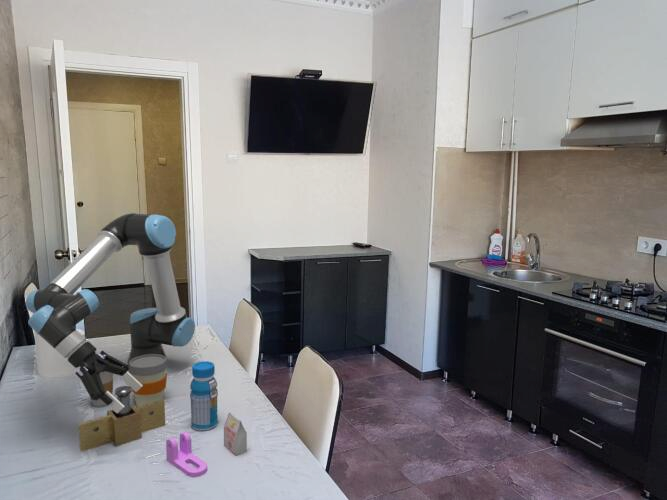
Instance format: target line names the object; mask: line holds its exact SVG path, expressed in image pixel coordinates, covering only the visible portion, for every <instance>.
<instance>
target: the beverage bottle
mask: <svg viewBox="0 0 667 500" xmlns="http://www.w3.org/2000/svg"><path fill="white" fill-rule="evenodd" d="M215 370H216V369H215V364H214V362H212V361H206V360H205V361H204V360H203V361H199V362H196V363H194V364H192V368H191V373H192V374H191V375H192V380H191V383H190V385H189V387H190V388H189V389H190V393H189V398H190V413H191V416H190V417H191V418H190V419H191V420H190V421H191V422H190V424H191V427H192V429H193V430H196V431H208V430H212V429H214V428H215V427H216V426H217V425H218V422H219V419H218V394H219V393H218V389H217V387H218V382H217V379H216V378H215V376H214V375H215V374H216V373H215Z"/></svg>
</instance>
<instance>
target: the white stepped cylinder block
mask: <svg viewBox="0 0 667 500" xmlns="http://www.w3.org/2000/svg"><path fill="white" fill-rule="evenodd" d="M33 314H34V313H33V312H32V315H33ZM75 329H76V330H77V331H78V332H79V333H80V334H81V335H83V336H84V337H85V338H86V333H85V330H83V329H80V328H75ZM33 333H34V345H35V357H36V372H37V375H38V376H40V377H42V378H49V377H55V378H62V377H69V376H73V375H76V372H77V371H78V370H79V369H80V366H79V367H78V368H75V367H74V366H73V365H72V364H71V363H69V362H68V357H67V358H64V357H63V356H62V355H61V354H60V353H59V352H58V351H57V350H56V349H54V348H53V347H52V346H51V345H50V344H49V343H48V342H47V341H45V340H44V339H43V338H42V337H41V336H40V335H39V334H37V333H36V332H35V331H34V330H33Z"/></svg>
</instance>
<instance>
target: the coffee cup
mask: <svg viewBox="0 0 667 500" xmlns="http://www.w3.org/2000/svg"><path fill="white" fill-rule="evenodd" d="M99 375H100V378H101V381H102V384H103V387H104V390H105V393H106V392H107V391H109V392H110V393H111V394H112V395H113V392H114V390H113V389H114V374H113V373H110V372H107V371H101V372H100V374H99ZM94 394H95V393H94ZM113 396H114V395H113ZM90 400H91V404H92V405H93V406H94V407H97V408H101V407H106V406H107V405H106V404H105V403H104V402H103V401H102V400H101V399H100V398H99V399H98V400H92V399H91V398H90Z"/></svg>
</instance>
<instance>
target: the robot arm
mask: <svg viewBox="0 0 667 500" xmlns="http://www.w3.org/2000/svg"><path fill="white" fill-rule="evenodd" d="M176 237H177V229H176V227H175V224H174V223H173V221H172V220H171V219H170V218H168V217H167V216H165V215H160V214H157V213H156V214H147V213H146V214H145V213H134V212H131V213H126V214H124V215H120V216H119V217H117V218H115V219H113V220H112V221H110V222H109V223H107V224H106V225H105V226H104V227H103V228H102V229H100V231H99V232H97V238H96V239H94V240H93V241H92V242H91V243H90V244H89V245H88V246H87V247H86V248H84V250H83V251H82V252H80V254H78V256H77V257H76V258H75V259H73V261H72V262H70V263H69V264H68V265H67V266H66V267H65V268H64V269H63V270H62V271H61V272H60V273H59V274H58V275H57V276H56V277H55V278H54V279H53V280H51V282H50V283H48V285H46V287H45V286H44V289H35V290H32V291H30V293H28V294H27V296H26V298H25V306H26V308H27V310H28V311H29V312H30V313H32V315H31V316H30V318H29V319H28V321H27V322H28V323H27V324H28V326H30V327H31V329H32V330H33V332H34V331H35V332H36V333H37V334H39V335H40V336H41V337H42V338H43V339H44V340H45V341H47V342H48V343H49V344H50V345H51V346H52V347H53V348H54V349H56V350H57V351H58V352H59V353H60V354H61V355H62V356H63V357H64V358H67V357H68V362H69V363H71V364H72V365H73V366H74V367H75V368H78V367H79V366H80V369H79V370H78V371H77V372H76V374H75V375H76V376H77V377H78V378H79V379H80V381H81V383H82V384H83V386H84V388H85V390H86V391H87V394H88V395H89V397H90V400H91V399H92V400H98V399H99V398H100V399H101V400H102V401H103V402H104V403H105V404H106V406H108V407H109V408H110V409H111V410H112V409H113V410H114V411H115V412H116V413H118V412H119V411H120V410H121V409H123V408H124V405H123V404H122V403H121V402H120V401H118V400H117V397H115V396H114V395H112V394H111V393H110V392H109V391H107V392H106V393H105V390H104V387H103V384H102V381H101V378H100V375H99V374H100V372H101V371H107V372H110V373H113V375H118V376H120V380H122V381H123V382H124V383H125V384H127V386H130V387H131V388H132V389H133V390H134V391H135V392H137V391H138V390H139V389H140V388H141V387H142V386H143V385H142V384H141V383H140V382H138V381H137V380H136V379H135V378H134V377H133V376H132V375H131V374H130V373H129V362H130V360H132V359H133V358H135V357H138V356H142V355H148V354H158V355H163V356H165V357H166V359H168V358H167V355H166V352H165V350H164V348H163V345H166V346H172V347H179V348H180V347H181V348H182V347H185V346H187V345H188V344H189V343H190V342H191V340H192V338H193V337H194V334H195V331H196V323H195V319H193V318H191V316H190V317H188V315H187V312H186V309H185V308H184V307H182V306H181V303H180V297H179V294H178V289H177V288H178V287H177V284H176V278H175V275H174V269H173V266H172V261H171V256H170V251H171V250H172V249H173V245H174V244H175V242H176ZM127 246H137V249H138V253H139V255H140V256H142V257H143V258H145V263H146V267H147V271H148V272H147V273H148V276H149V280H150V284H151V288H152V293H153V297H154V302H155V305H156V307H148V308H142V309H139V310H136V311H134V312H132V313H131V314H130V317H129V319H130V320H129V321H130V322H129V329H130V330H129V332H130V345H131V346H130V347H131V348H130V351H129V353H128V354H129V355H128V358H127V361H126V362H127V363H125V362H123V361H121V360H119V359H117V358H116V357H113V356H111V355H110V354H108V353H107V352H106V351H104V350H101V351H100V352H99V353H96V351H97V347H95V346H94V345H93V344H92V343H91V342H90V341H87V338H86V336H85V337H84V336H83V335H81V334H80V333H79V332H78V331H77V330H76V329H77V328H75V326H77V325H78V324H79V323H80V322H82V321H83V320H84V319H86V318H87V317H89V316H90V315H92V313H93V312H94V311H95V310H96V309H98V308H99V305H100V303H99V299H98V296H97V295H96V294H95V293H94V292H93V291H92V290H90V289H88V288H87V289H86V288H84V289H81V290H79V289H80V288H81V287H82V286H83V285H84V284H85V283H86V282H87V281H88V280H89V278H91V277H92V276H93V275H94V274H95V272H97V271H98V270H99V268H101V266H102V265H104V263H105V262H107V261H108V259H109V258H111V257H112V255H113V254H114V253H118V252H120V251H121V250H122V249H123V248H124V247H127ZM78 290H79V291H78ZM33 313H34V314H33ZM94 393H95V394H94ZM92 400H91V401H92Z"/></svg>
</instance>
